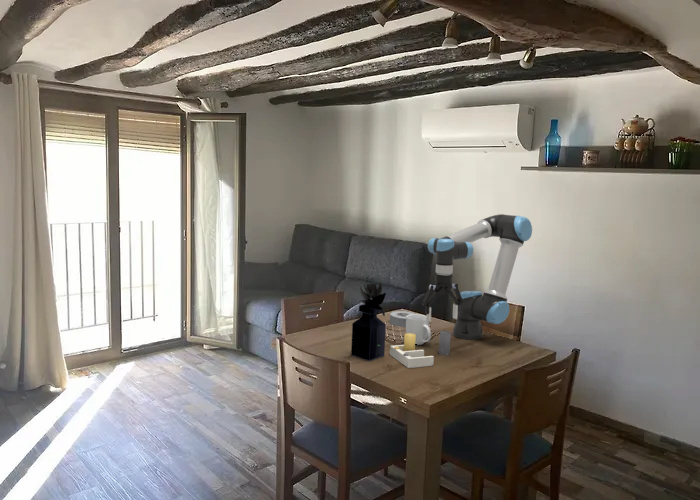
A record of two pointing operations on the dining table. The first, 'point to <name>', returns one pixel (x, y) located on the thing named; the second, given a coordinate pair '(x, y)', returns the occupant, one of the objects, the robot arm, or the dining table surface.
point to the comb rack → (411, 357)
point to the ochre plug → (409, 342)
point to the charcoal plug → (444, 342)
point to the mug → (418, 327)
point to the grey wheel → (399, 318)
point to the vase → (369, 325)
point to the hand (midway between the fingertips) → (441, 319)
